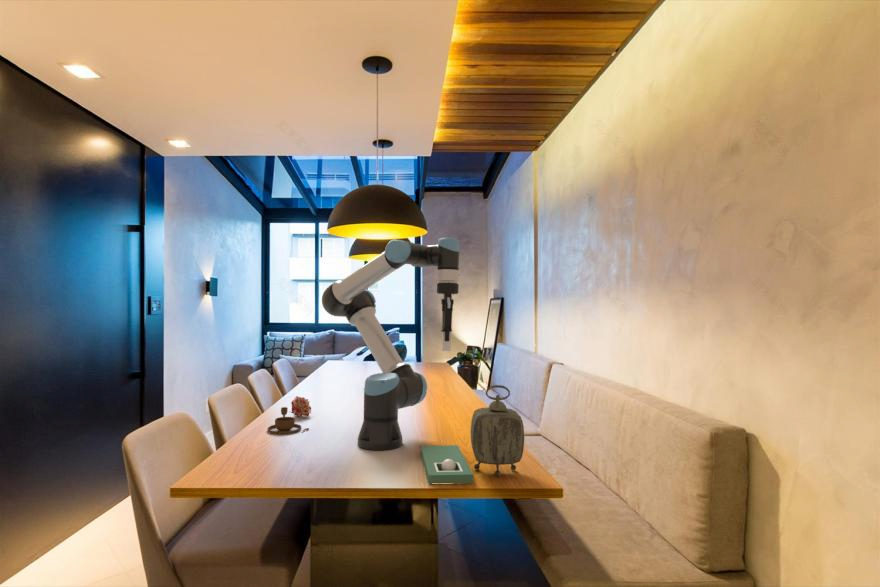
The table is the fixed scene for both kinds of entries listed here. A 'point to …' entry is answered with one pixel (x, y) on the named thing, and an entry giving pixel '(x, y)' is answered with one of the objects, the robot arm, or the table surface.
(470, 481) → the green slotted plate
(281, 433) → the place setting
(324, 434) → the table surface
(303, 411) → the flower
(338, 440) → the table surface
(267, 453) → the table surface
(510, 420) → the tabletop clock
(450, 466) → the ball
